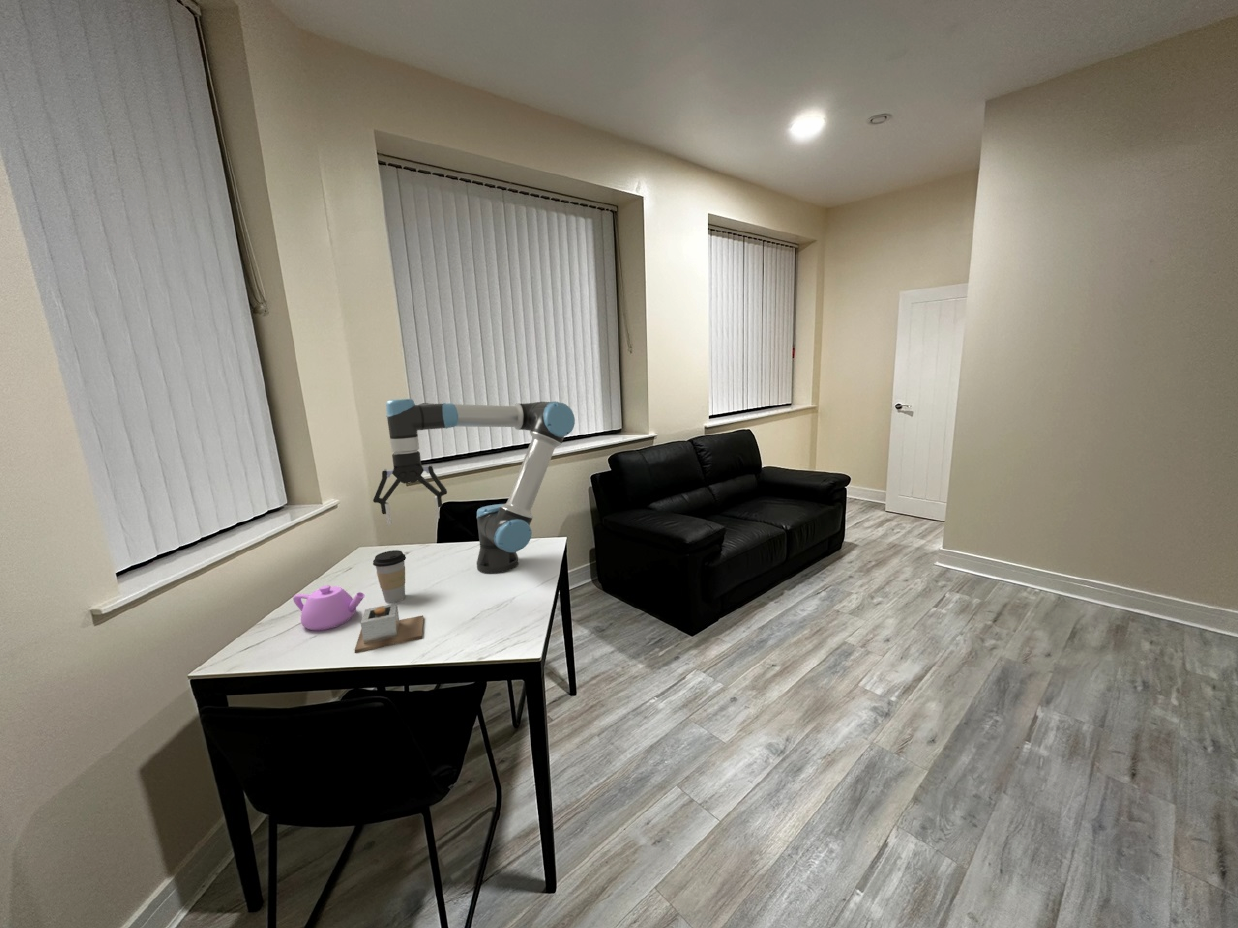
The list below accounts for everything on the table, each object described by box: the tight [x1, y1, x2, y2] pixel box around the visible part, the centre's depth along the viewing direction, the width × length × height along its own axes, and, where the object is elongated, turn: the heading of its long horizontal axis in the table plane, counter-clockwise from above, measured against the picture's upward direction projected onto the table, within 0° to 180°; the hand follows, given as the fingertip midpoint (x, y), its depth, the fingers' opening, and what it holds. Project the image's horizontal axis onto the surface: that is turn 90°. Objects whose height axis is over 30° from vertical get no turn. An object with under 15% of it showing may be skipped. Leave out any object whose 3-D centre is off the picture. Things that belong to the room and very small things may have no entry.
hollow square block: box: [360, 603, 400, 644], centre depth 125 cm, size 8×8×6 cm
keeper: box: [354, 606, 424, 653], centre depth 125 cm, size 16×12×8 cm
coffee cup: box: [372, 549, 407, 604], centre depth 146 cm, size 9×9×15 cm
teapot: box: [292, 584, 365, 631], centre depth 134 cm, size 14×20×11 cm
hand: (414, 520), depth 139 cm, fingers open, 13 cm apart
